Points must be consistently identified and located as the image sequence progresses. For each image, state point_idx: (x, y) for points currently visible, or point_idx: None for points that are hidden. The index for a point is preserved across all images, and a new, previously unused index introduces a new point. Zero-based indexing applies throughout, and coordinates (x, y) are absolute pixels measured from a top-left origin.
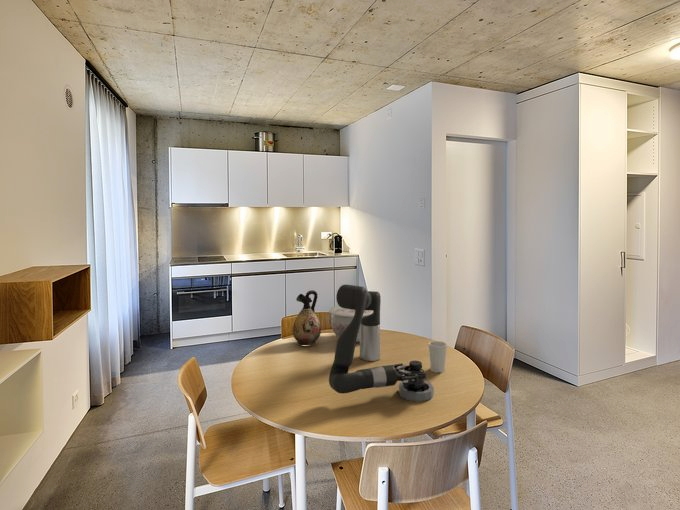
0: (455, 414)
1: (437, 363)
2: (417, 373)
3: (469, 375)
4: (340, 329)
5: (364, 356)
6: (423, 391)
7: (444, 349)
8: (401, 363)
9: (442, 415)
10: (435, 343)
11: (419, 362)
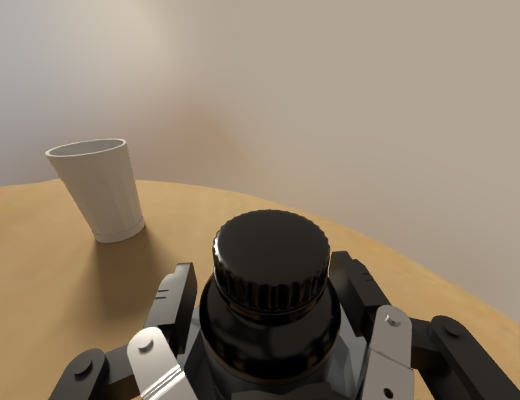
0: (457, 291)
1: (126, 208)
2: (361, 298)
3: (200, 194)
4: None
5: None
6: (345, 341)
7: (128, 154)
8: (76, 362)
9: (500, 342)
10: (66, 153)
11: (273, 217)
